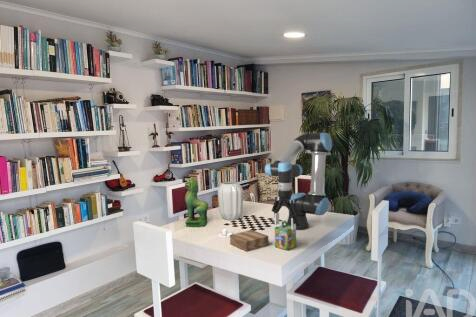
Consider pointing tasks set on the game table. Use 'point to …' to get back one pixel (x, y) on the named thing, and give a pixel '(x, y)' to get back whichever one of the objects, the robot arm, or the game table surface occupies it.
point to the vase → (230, 200)
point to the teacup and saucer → (225, 233)
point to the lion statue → (195, 205)
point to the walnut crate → (249, 240)
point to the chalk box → (285, 237)
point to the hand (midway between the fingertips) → (285, 226)
